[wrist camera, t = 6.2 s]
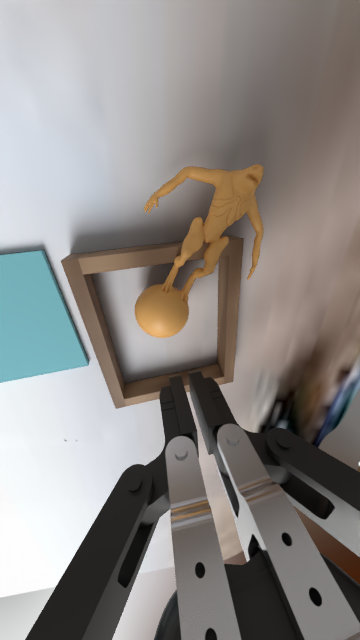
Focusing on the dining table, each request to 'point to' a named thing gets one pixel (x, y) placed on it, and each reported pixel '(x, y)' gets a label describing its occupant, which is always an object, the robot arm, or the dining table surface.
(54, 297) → the teal pad
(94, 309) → the brown wooden frame
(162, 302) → the figurine
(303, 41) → the dining table surface
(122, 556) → the robot arm
